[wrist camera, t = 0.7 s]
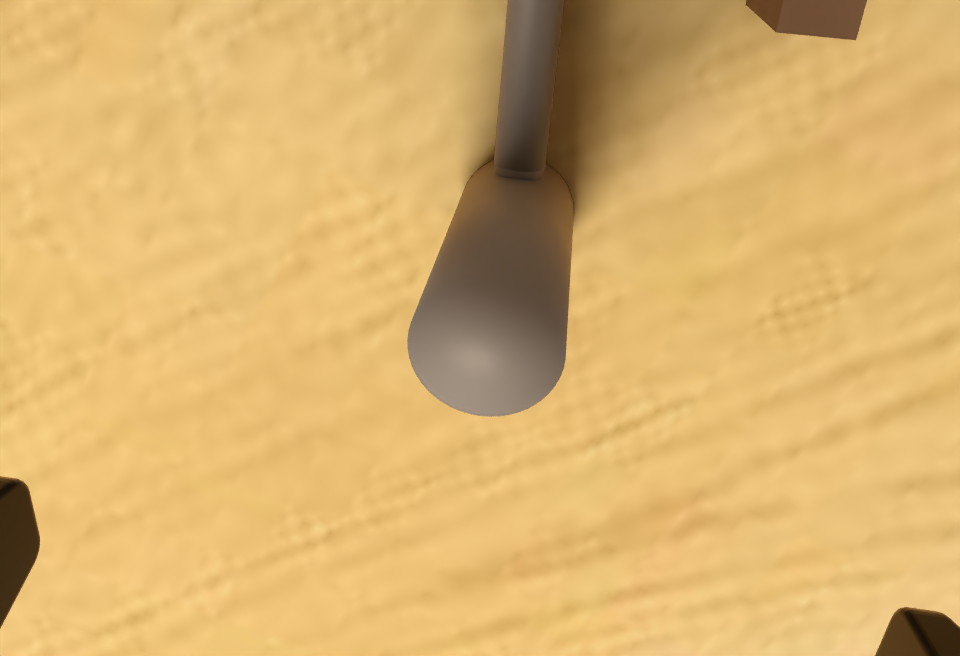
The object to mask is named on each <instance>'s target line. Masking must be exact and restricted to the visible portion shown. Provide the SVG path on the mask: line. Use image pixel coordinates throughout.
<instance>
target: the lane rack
mask: <svg viewBox="0 0 960 656" xmlns="http://www.w3.org/2000/svg"><path fill="white" fill-rule="evenodd" d="M866 2H867V0H747V1H746V5H747V6H748V7H749V8H750V9H751V10H753V11H754V12H755V13H756V14H757V15H758V16H759V17H760V18H761V19H762V20H763V21H764V22H766V23H767V24H768V25H769V26H770V27H771V28H772V29H773V30H774V31H775V32H778V33H789V34H799V35H809V36H819V37H829V38H840V39H850V40H856V38H857V34H858V31H859V27H860V23H861V20H862V16H863V13H864V9H865V5H866Z"/></svg>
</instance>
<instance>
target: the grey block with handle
mask: <svg viewBox="0 0 960 656" xmlns="http://www.w3.org/2000/svg"><path fill="white" fill-rule="evenodd" d="M563 9H564V0H508V5H507V16H506V28H505V39H504V51H503V62H502V74H501V85H500V97H499V109H498V120H497V132H496V143H495V155H494V160H492V161H490V162H489V163H487V164H485V165H484V166H482V167H481V168H480V169H478V170H477V171H476V172H475V173H474V174H473V176H472V177H471V178H470V180H469V181H468V183H467V184H466V187H465V189H464V191H463V194H462V196H461V199H460V201H459V204H458V206H457V209H456V211H455V214H454V216H453V219H452V221H451V224H450V226H449V229H448V231H447V234H446V236H445V239H444V241H443V244H442V246H441V249H440V251H439V254H438V256H437V259H436V261H435V264H434V266H433V269H432V271H431V274H430V276H429V279H428V281H427V284H426V286H425V289H424V291H423V294H422V296H421V299H420V301H419V304H418V306H417V309H416V311H415V314H414V316H413V319H412V321H411V324H410V328H409V332H408V353H409V358H410V361H411V364H412V367H413V369H414V371H415V373H416V375H417V377H418V378H419V380H420V381H421V383H422V384H423V385H424V386H425V388H426V389H427V390H428V391H429V392H430V393H431V394H433V395H434V396H435V397H436V398H437V399H439V400H440V401H442V402H443V403H445V404H447V405H448V406H450V407H452V408H454V409H457V410H459V411H462V412H465V413H469V414H473V415H479V416H504V415H510V414H514V413H518V412H520V411H523V410H525V409H528V408H530V407H531V406H533V405H535V404H537V403H538V402H539V401H541V400H542V399H543V398H544V397H546V396H547V395H548V394H549V393H550V392H551V390H552V389H553V388H554V386H555V385H556V383H557V382H558V380H559V378H560V376H561V374H562V371H563V368H564V364H565V357H566V341H567V323H568V305H569V287H570V269H571V251H572V234H573V216H574V206H573V199H572V195H571V193H570V190H569V188H568V186H567V184H566V182H565V181H564V179H563V178H562V177H561V176H560V175H559V174H558V172H557V171H555V170H554V169H553V168H552V167H551V166H549V165H547V164H546V155H547V146H548V138H549V129H550V121H551V112H552V103H553V95H554V86H555V78H556V69H557V60H558V52H559V43H560V35H561V26H562V17H563Z"/></svg>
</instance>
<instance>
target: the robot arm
mask: <svg viewBox="0 0 960 656" xmlns="http://www.w3.org/2000/svg"><path fill="white" fill-rule="evenodd" d="M39 547H40V536H39V531H38V527H37V522H36V518H35V513H34V509H33V504H32V500H31V496H30V491H29V488H28V486H27V485H26V484H25V483H24V482H23V481H21V480H19V479H15V478H8V477H1V476H0V628H1V626H2V624H3V622H4V620H5V619H6V617H7V615H8V613H9V611H10V609H11V607H12V605H13V603H14V601H15V599H16V597H17V596H18V594H19V592H20V590H21V588H22V586H23V584H24V582H25V580H26V578H27V576H28V574H29V573H30V571H31V569H32V567H33V565H34V563H35V561H36V558H37V555H38V552H39ZM875 656H960V627H959V626H958V625H957V624H956V623H954V622H953V621H952V620H951V619H950V618H949V617H947V616H946V615H944V614H943V613H940V612H936V611H929V610H923V609H916V608H909V607H904V608H900V609H898V610H897V611H896V612H895V613H894V615H893V616H892V618H891V620H890V623H889V625H888V627H887V630H886V632H885V634H884V636H883V639H882V641H881V643H880V646H879V648H878V650H877V653H876V655H875Z"/></svg>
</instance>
